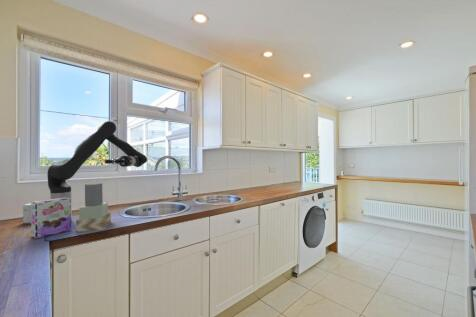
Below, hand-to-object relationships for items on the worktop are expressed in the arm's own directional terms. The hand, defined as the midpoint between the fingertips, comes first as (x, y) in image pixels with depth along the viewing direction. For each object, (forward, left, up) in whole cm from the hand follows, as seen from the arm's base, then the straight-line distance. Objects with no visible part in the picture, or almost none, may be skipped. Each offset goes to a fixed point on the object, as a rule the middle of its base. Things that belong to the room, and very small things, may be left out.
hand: (111, 161), depth 136 cm
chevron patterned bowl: (-3, -21, -34) cm, 40 cm away
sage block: (-3, -21, -28) cm, 35 cm away
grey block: (-3, -21, -22) cm, 31 cm away
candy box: (-19, -26, -34) cm, 47 cm away
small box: (-40, 0, -34) cm, 53 cm away
